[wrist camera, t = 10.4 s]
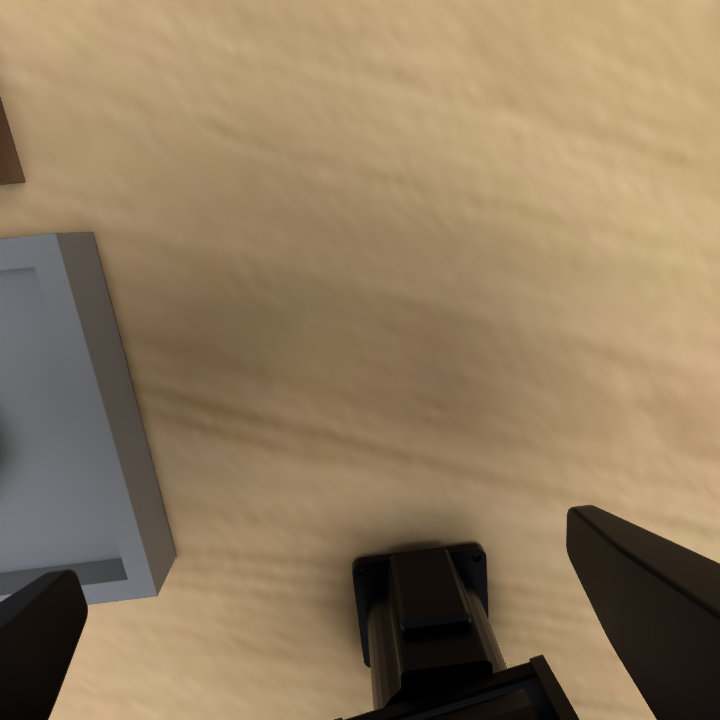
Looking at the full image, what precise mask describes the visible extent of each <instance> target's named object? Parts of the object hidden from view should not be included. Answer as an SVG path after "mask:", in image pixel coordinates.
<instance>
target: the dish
mask: <svg viewBox="0 0 720 720" xmlns="http://www.w3.org/2000/svg"><path fill="white" fill-rule="evenodd" d="M175 558H176V552H175V548H174V545H173V541H172V537H171V533H170V529H169V525H168V521H167V517H166V514H165V510H164V506H163V502H162V498H161V494H160V490H159V487H158V483H157V479H156V475H155V471H154V467H153V463H152V460H151V456H150V452H149V448H148V444H147V440H146V436H145V432H144V429H143V425H142V421H141V417H140V413H139V409H138V405H137V402H136V398H135V394H134V390H133V386H132V382H131V378H130V375H129V371H128V367H127V363H126V359H125V355H124V351H123V347H122V344H121V340H120V336H119V332H118V328H117V324H116V320H115V317H114V313H113V309H112V305H111V301H110V297H109V293H108V290H107V286H106V282H105V278H104V274H103V270H102V266H101V262H100V259H99V255H98V251H97V247H96V243H95V239H94V235H93V232H80V233H53V234H43V235H34V236H25V237H16V238H6V239H0V602H1V601H3V600H4V599H6V598H7V597H9V596H10V595H12V594H14V593H15V592H17V591H18V590H20V589H21V588H23V587H25V586H26V585H28V584H29V583H31V582H32V581H34V580H36V579H37V578H39V577H40V576H42V575H43V574H45V573H47V572H50V571H56V570H65V569H72V570H74V571H75V572H76V573H77V575H78V578H79V581H80V584H81V587H82V590H83V593H84V596H85V599H86V602H87V605H90V604H98V603H106V602H114V601H122V600H130V599H138V598H146V597H154V596H158V594H159V592H160V589H161V587H162V585H163V583H164V581H165V579H166V577H167V575H168V573H169V571H170V568H171V566H172V564H173V562H174V560H175Z"/></svg>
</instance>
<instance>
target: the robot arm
mask: <svg viewBox="0 0 720 720" xmlns="http://www.w3.org/2000/svg"><path fill="white" fill-rule="evenodd" d="M566 547H567V553H568V556H569V559H570V561H571V563H572V565H573V567H574V569H575V571H576V573H577V575H578V578H579V580H580V582H581V584H582V586H583V588H584V590H585V592H586V594H587V596H588V598H589V600H590V603H591V605H592V607H593V609H594V611H595V613H596V615H597V617H598V619H599V621H600V623H601V625H602V627H603V629H604V631H605V633H606V635H607V637H608V639H609V641H610V643H611V644H612V646H613V648H614V650H615V651H616V653H617V655H618V656H619V658H620V660H621V661H622V663H623V665H624V666H625V668H626V670H627V671H628V673H629V675H630V676H631V678H632V679H633V681H634V683H635V684H636V686H637V688H638V689H639V691H640V693H641V694H642V696H643V698H644V699H645V701H646V702H647V704H648V706H649V707H650V709H651V711H652V712H653V714H654V716H655V717H656V719H657V720H720V563H717V562H715V561H713V560H711V559H709V558H706V557H704V556H702V555H700V554H698V553H696V552H693V551H691V550H689V549H687V548H685V547H683V546H680V545H678V544H676V543H674V542H672V541H670V540H667V539H665V538H663V537H661V536H659V535H656V534H654V533H652V532H650V531H648V530H646V529H643V528H641V527H639V526H637V525H635V524H633V523H630V522H628V521H626V520H624V519H622V518H619V517H617V516H615V515H613V514H611V513H609V512H606V511H604V510H602V509H600V508H598V507H596V506H593V505H584V506H576V507H571V508H570V509H569V510H568V513H567V535H566ZM473 554H478V555H477V556H475V557H471V556H472V555H473ZM361 568H366V570H364V571H360V570H359V569H361ZM352 573H353V581H354V589H355V596H356V604H357V611H358V619H359V626H360V634H361V642H362V649H363V657H364V663H365V665H366V666H367V667H370V668H371V679H372V691H373V703H374V710H373V711H370V712H367V713H364V714H361V715H357V716H354V717H351V718H348V719H345V720H579V718H578V716H577V714H576V713H575V711H574V709H573V707H572V706H571V704H570V702H569V700H568V698H567V697H566V695H565V693H564V691H563V690H562V688H561V686H560V684H559V683H558V681H557V679H556V677H555V676H554V674H553V672H552V670H551V668H550V667H549V665H548V663H547V661H546V660H545V658H544V656H543V655H540V656H536V657H533V658H530V659H529V660H530V662H527V663H524V664H521V665H518V666H514V667H511V668H508V669H507V667H506V665H505V662H504V659H503V657H502V654H501V652H500V649H499V647H498V644H497V641H496V639H495V636H494V634H493V631H492V629H491V626H490V623H489V621H488V593H487V563H486V554H485V552H484V549H483V548H482V547H481V546H480V545H478V544H469V545H461V546H453V547H445V548H437V549H429V550H421V551H413V552H405V553H397V554H389V555H381V556H373V557H365V558H359V559H357V560H356V561H354V563H353V565H352ZM87 615H88V606H87V602H86V599H85V596H84V593H83V590H82V587H81V584H80V581H79V578H78V575H77V573H76V572H75V571H74V570H72V569H65V570H56V571H50V572H47V573H45V574H43V575H42V576H40V577H39V578H37V579H36V580H34V581H32V582H31V583H29V584H28V585H26V586H25V587H23V588H21V589H20V590H18V591H17V592H15V593H14V594H12V595H10V596H9V597H7V598H6V599H4V600H3V601H1V602H0V720H48V719H49V717H50V714H51V712H52V710H53V707H54V705H55V702H56V700H57V697H58V695H59V692H60V689H61V687H62V684H63V681H64V679H65V676H66V673H67V671H68V668H69V665H70V663H71V660H72V657H73V655H74V652H75V649H76V647H77V644H78V641H79V639H80V636H81V633H82V631H83V628H84V625H85V623H86V619H87ZM335 720H343V719H342V718H338V719H335Z"/></svg>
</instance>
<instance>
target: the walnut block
mask: <svg viewBox="0 0 720 720" xmlns="http://www.w3.org/2000/svg"><path fill="white" fill-rule="evenodd" d="M23 182H26V181H25V178H24V175H23V171H22V168H21V165H20V161H19V158H18V155H17V151H16V148H15V144H14V141H13V138H12V134H11V131H10V128H9V124H8V121H7V118H6V114H5V111H4V108H3V104H2V101H1V98H0V185H6V184H14V183H23Z"/></svg>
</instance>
